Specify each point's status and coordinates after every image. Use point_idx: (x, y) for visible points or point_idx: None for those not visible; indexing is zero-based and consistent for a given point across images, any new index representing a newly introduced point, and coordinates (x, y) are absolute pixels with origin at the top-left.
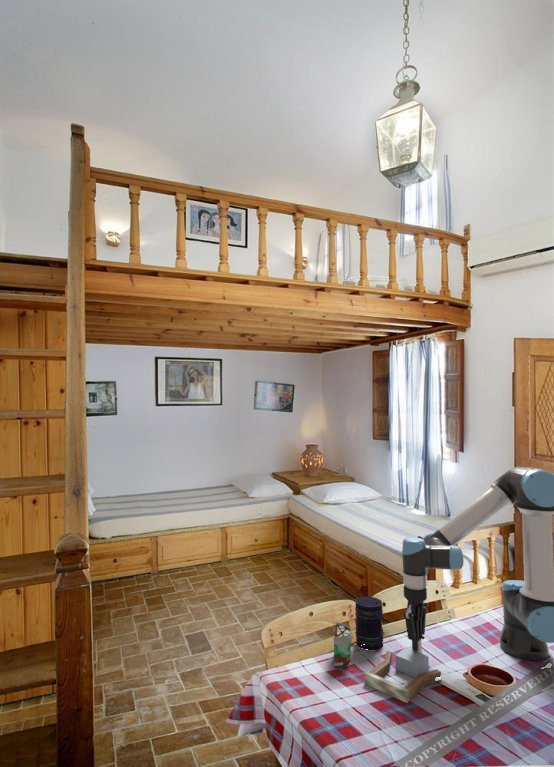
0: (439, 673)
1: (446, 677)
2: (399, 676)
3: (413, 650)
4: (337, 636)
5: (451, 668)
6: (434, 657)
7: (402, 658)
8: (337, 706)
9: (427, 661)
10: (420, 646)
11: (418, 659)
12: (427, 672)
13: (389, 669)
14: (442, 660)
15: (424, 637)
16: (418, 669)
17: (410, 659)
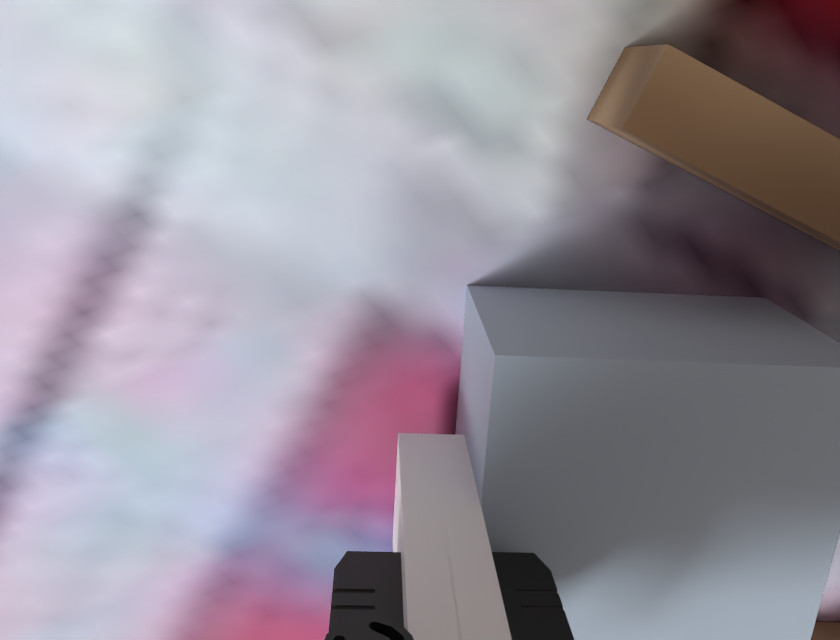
0: (684, 58)
1: (495, 10)
2: None
3: None
4: None
5: (183, 40)
6: (69, 359)
7: (811, 618)
8: None
9: (527, 330)
10: (457, 563)
11: (722, 433)
12: (808, 212)
13: None
14: (59, 239)
15: (331, 638)
16: (834, 343)
17: (795, 523)
